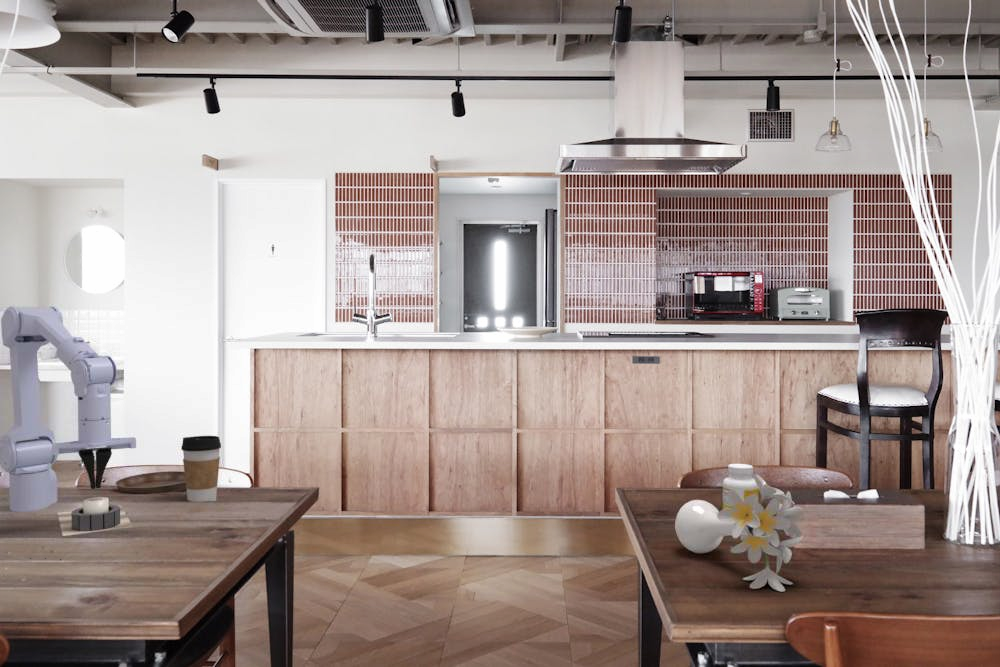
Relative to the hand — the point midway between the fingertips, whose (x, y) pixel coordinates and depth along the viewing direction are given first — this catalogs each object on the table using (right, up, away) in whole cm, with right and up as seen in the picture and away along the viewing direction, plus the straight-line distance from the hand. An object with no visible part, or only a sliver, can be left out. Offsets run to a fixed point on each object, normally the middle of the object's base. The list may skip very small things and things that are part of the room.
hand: (95, 487), depth 154 cm
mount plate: (-3, -8, +4) cm, 10 cm away
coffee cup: (+12, -8, +22) cm, 27 cm away
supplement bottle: (+126, -9, -1) cm, 127 cm away
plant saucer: (-4, -8, +35) cm, 37 cm away
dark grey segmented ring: (0, -7, 0) cm, 7 cm away
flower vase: (+118, -9, -23) cm, 121 cm away
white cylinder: (0, -7, 0) cm, 7 cm away
